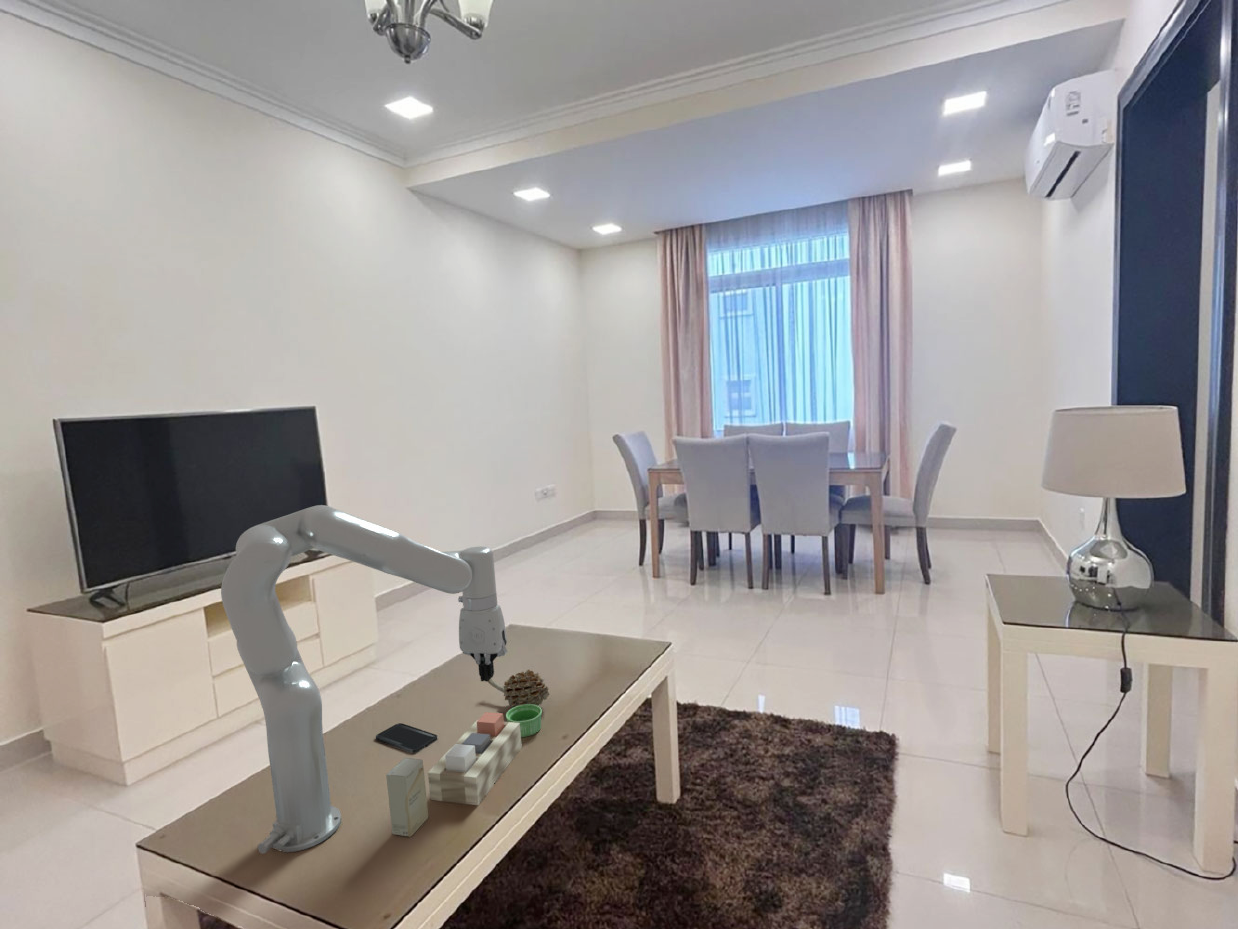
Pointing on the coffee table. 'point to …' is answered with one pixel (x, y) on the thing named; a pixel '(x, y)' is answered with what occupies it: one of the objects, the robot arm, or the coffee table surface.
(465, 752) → the white key
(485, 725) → the brick key
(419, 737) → the phone
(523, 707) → the ramekin
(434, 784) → the wooden compartment tray
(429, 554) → the robot arm
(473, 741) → the grey rectangular block
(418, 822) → the skincare box
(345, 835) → the coffee table surface
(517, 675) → the pine cone
